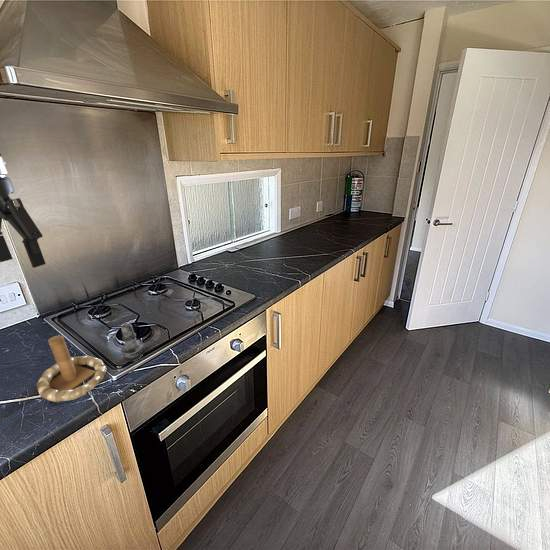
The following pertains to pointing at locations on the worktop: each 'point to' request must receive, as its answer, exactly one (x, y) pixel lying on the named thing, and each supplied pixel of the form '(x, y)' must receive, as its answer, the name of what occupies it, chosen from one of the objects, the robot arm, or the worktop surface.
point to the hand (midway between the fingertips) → (22, 263)
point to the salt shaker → (131, 343)
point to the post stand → (66, 367)
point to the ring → (68, 395)
